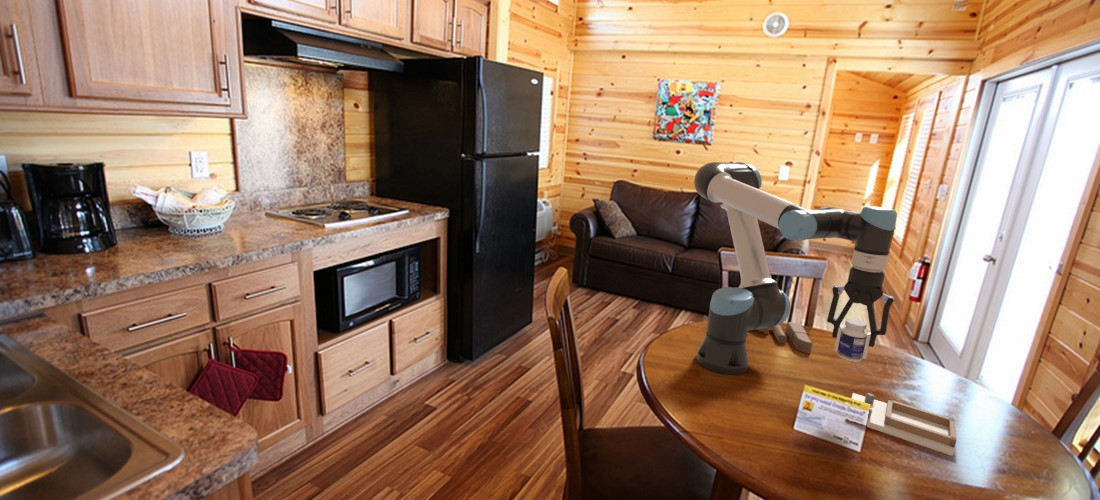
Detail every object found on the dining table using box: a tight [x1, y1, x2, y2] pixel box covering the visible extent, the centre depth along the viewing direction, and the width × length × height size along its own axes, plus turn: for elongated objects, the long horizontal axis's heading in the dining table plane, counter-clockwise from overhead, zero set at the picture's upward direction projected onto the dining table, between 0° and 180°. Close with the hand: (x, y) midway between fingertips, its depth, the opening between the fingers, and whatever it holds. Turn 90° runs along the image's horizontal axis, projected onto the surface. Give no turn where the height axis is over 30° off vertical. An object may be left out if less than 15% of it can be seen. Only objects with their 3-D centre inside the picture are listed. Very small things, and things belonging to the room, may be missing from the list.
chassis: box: [850, 392, 958, 457], centre depth 128 cm, size 22×14×4 cm, turn 54°
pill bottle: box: [836, 318, 868, 363], centre depth 131 cm, size 6×6×10 cm
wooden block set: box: [755, 321, 813, 355], centre depth 175 cm, size 17×6×18 cm
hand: (850, 353), depth 131 cm, fingers closed on pill bottle, 6 cm apart
